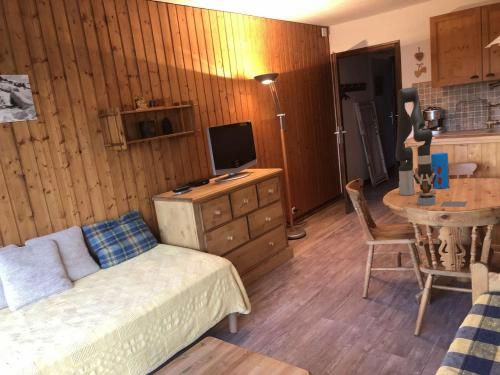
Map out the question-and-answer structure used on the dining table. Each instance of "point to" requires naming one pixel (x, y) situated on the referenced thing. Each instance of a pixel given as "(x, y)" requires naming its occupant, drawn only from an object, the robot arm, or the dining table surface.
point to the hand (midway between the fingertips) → (425, 190)
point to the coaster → (453, 204)
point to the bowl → (426, 200)
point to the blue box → (440, 170)
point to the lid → (425, 190)
